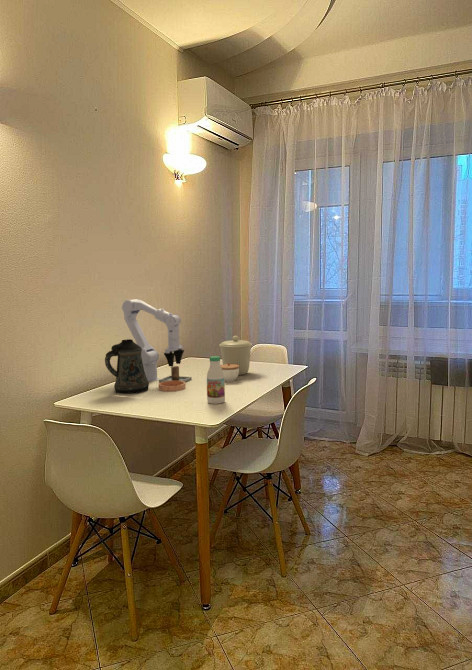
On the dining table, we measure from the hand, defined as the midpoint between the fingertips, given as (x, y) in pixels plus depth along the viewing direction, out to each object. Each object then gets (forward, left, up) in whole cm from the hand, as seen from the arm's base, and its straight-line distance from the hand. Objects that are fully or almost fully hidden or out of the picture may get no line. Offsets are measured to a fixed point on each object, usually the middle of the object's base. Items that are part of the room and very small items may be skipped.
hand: (174, 365), depth 266 cm
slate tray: (0, 0, -9) cm, 9 cm away
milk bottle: (+37, -30, -9) cm, 49 cm away
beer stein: (-11, -25, -9) cm, 29 cm away
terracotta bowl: (+6, -14, -9) cm, 18 cm away
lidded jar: (+25, +12, -9) cm, 29 cm away
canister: (+22, +29, -9) cm, 38 cm away
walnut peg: (0, 0, -8) cm, 8 cm away
